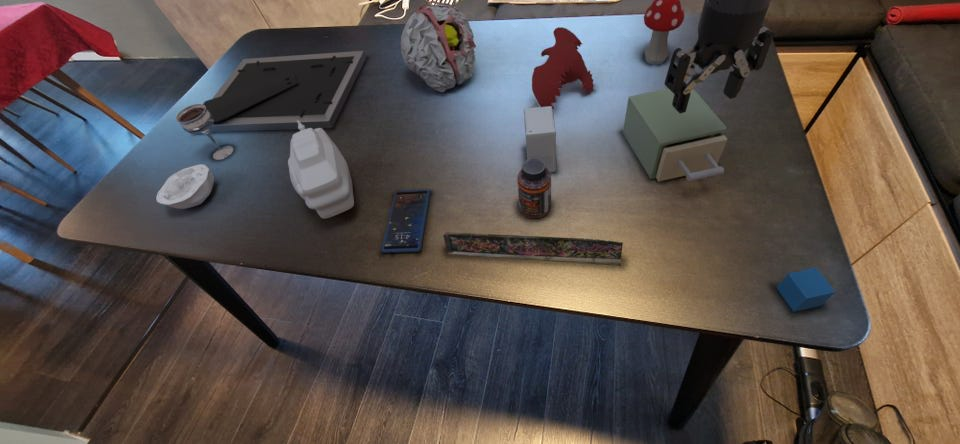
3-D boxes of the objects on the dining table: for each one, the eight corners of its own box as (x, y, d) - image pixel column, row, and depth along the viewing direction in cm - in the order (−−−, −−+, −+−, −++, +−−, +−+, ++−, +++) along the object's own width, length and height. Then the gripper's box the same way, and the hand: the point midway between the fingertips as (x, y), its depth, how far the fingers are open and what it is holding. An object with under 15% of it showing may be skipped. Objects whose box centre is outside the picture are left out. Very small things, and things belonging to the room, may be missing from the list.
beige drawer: (729, 187, 77) (743, 158, 71) (670, 200, 77) (679, 172, 71) (682, 125, 88) (691, 96, 82) (631, 137, 88) (636, 108, 82)
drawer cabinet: (712, 165, 81) (727, 128, 74) (650, 179, 81) (659, 143, 74) (678, 120, 90) (689, 83, 83) (622, 132, 90) (628, 96, 83)
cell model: (233, 184, 97) (214, 163, 92) (191, 224, 91) (169, 203, 85) (203, 174, 101) (184, 153, 95) (162, 211, 94) (139, 191, 89)
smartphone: (430, 188, 86) (420, 250, 77) (431, 191, 87) (421, 252, 78) (394, 190, 87) (380, 251, 78) (395, 193, 88) (381, 254, 79)
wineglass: (239, 154, 104) (207, 114, 94) (211, 166, 102) (176, 127, 93) (234, 139, 108) (203, 99, 98) (207, 151, 106) (174, 112, 97)
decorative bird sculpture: (585, 70, 113) (547, 27, 107) (614, 50, 105) (575, 3, 100) (557, 141, 97) (511, 95, 92) (588, 123, 90) (541, 73, 85)
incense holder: (447, 254, 77) (440, 237, 73) (448, 248, 78) (442, 231, 74) (620, 265, 71) (624, 247, 67) (620, 258, 72) (624, 240, 67)
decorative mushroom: (673, 70, 101) (689, 6, 89) (635, 68, 103) (645, 6, 91) (674, 47, 106) (690, -16, 94) (638, 46, 109) (649, -16, 97)
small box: (556, 172, 86) (556, 132, 77) (528, 175, 86) (525, 135, 78) (552, 145, 91) (552, 105, 82) (526, 148, 91) (523, 107, 83)
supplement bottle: (515, 216, 80) (510, 174, 71) (525, 193, 83) (522, 150, 75) (545, 223, 78) (545, 181, 70) (555, 199, 82) (555, 156, 73)
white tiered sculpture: (350, 162, 96) (320, 104, 84) (370, 216, 85) (339, 159, 73) (303, 181, 94) (265, 124, 82) (317, 239, 83) (276, 184, 71)
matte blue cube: (821, 306, 62) (836, 292, 59) (793, 312, 62) (806, 298, 59) (802, 281, 65) (816, 267, 62) (775, 287, 65) (787, 273, 62)
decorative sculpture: (424, 112, 116) (430, 89, 96) (385, 43, 114) (382, 5, 94) (482, 82, 119) (499, 53, 99) (445, 14, 117) (455, -29, 97)
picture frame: (196, 133, 112) (332, 128, 105) (186, 122, 109) (326, 116, 102) (247, 65, 130) (366, 58, 123) (240, 54, 127) (362, 46, 120)
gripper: (704, 24, 52) (675, 129, 64) (810, -6, 53) (761, 103, 65) (670, -1, 57) (649, 102, 69) (768, -28, 57) (730, 78, 70)
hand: (704, 102), depth 67 cm, fingers open, 8 cm apart
